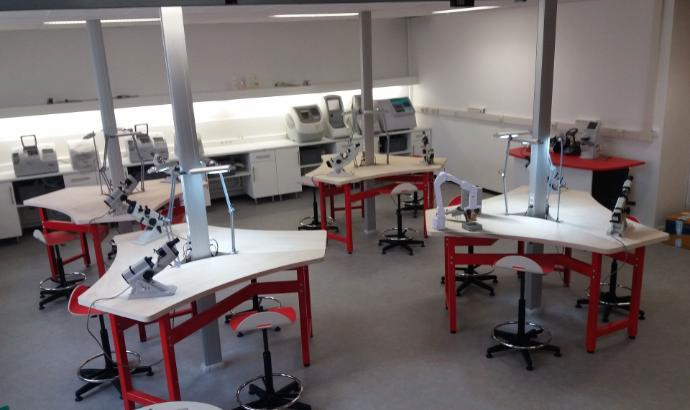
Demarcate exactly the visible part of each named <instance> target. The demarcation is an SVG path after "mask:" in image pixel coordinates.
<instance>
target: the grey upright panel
mask: <svg viewBox="0 0 690 410" xmlns="http://www.w3.org/2000/svg"><path fill="white" fill-rule="evenodd" d="M476 187H477V186H476ZM477 190H478V192H477V206H481V209H480V208H479V209H480V211H479V213H478V215H482V209H483V208H482V205H483V204H482V203H483V186H482V187H480V186H478V187H477ZM460 191H461V192H460V193H461V195H460V196H461V197H460V205H462V206H461V209H464V208H465V207H468V206H469V195H470V191H467V190H465V189H463V188H461V190H460ZM470 211H472V212H474V209H471V210H470Z"/></svg>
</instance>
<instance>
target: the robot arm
mask: <svg viewBox="0 0 690 410" xmlns="http://www.w3.org/2000/svg"><path fill="white" fill-rule="evenodd" d="M446 181H447V182H449V181H451V182H453V183H455V184H457V185H459V186H460V188H461V189H462V188H463V189H465V190H467V191H470V195H469V206H468V207H465V208H464V210H465V211H466V213H467V215H468V219H470V218H471V212H472V211H470V210H471V209H474V213H477V216H478V215H479V214H478V213H479V211H480V209H481V206H477V192H478V190H477V186H476V185H475V184H473V183H469V182H468V180H460V179H459V178H457V177H455V176H454V175H452V174H450V173H449V172H446V171H440V172H439V173H438V174H437V176H436V178H435V180H434V182H433V187H434V194H435V200H436V201H435V202H436V208H437V209H436V213H437V216H436V215H435V217H433V218H432V226H431V228H433V229H434V230H436V231H439V230H446V229H448V226H447V227H446V214H445V211H446V209H445V208H444V204H443V197H442V191H441V190H442V189H441V185H442V184H443V183H444V182H445V183H446ZM479 208H480V209H479ZM481 210H482V209H481Z"/></svg>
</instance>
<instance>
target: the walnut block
mask: <svg viewBox="0 0 690 410" xmlns="http://www.w3.org/2000/svg"><path fill="white" fill-rule="evenodd" d="M477 217H478V215H477V213H474V212H471V218H470V219H468V218H467V220H468V221H469V222H477V220H478V219H477Z"/></svg>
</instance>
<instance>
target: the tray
mask: <svg viewBox="0 0 690 410" xmlns="http://www.w3.org/2000/svg"><path fill="white" fill-rule="evenodd" d="M461 228H462V229H464V230H465V231H468V232H472V231H479V229H480V230H483V224H481V223H479V222H477V221H473V222H470V221H469V222H464V223H463V222H462V223H461Z"/></svg>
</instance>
